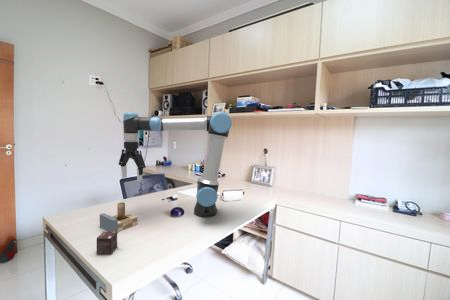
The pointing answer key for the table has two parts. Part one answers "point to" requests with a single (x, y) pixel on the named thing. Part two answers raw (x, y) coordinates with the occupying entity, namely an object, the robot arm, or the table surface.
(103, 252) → the box
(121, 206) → the dowel
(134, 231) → the table surface
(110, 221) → the board wall
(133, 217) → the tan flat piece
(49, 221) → the table surface
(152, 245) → the table surface
